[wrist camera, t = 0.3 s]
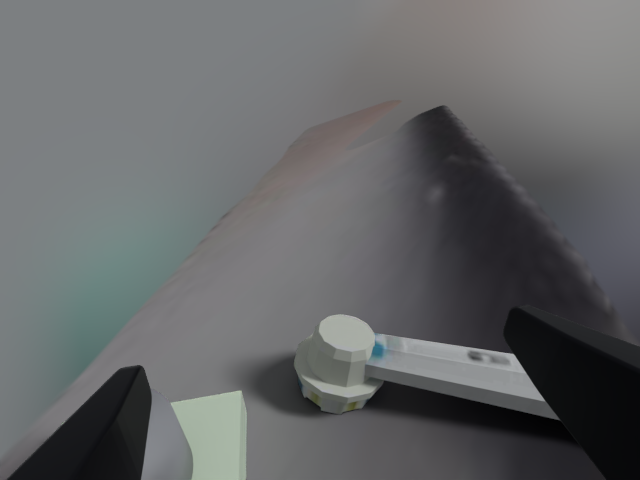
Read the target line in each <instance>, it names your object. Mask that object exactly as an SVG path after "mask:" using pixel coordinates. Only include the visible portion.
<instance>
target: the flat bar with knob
mask: <svg viewBox="0 0 640 480" xmlns="http://www.w3.org/2000/svg"><path fill="white" fill-rule="evenodd" d="M294 367H295V370H296V372H297V374H298V376H299V378H298V384H299V387H300V389H301V391H302V393H303V396H304V398H306V397H308V398H309V399H310V400H312V401H313V402H314V403H316V404H317V405H318V406H320V407H321V410H322V411H326V412H330V413H335V414H339V415H342V412H345V411H350V410H354V409H359V408H360V409H361V408H362V407H363V406H364V405H365V404H366V403H367V402H368V400H369V399H370V398H371V397H372V395H373V394H374V393H375V392H376V391H377V390H378V389H379V388H380V387H381V386H382V385H383V382H384V380H386V381H390V382H395V383H399V384H403V385H408V386H412V387H416V388H421V389H425V390H430V391H434V392H438V393H443V394H447V395H451V396H456V397H460V398H465V399H469V400H473V401H478V402H482V403H486V404H491V405H495V406H500V407H504V408H508V409H513V410H517V411H521V412H526V413H530V414H535V415H539V416H543V417H548V418H552V419H556V420H560V419H559V418H558V417H557V415H556V414H555V413H554V412H553V410H552V409H551V408H550V406H549V405H548V404H547V403H546V401H545V400H544V399H543V397H542V396H541V394H540V393H539V392H538V390H537V389H536V387H535V386H534V384H533V383H532V381H531V380H530V378H529V377H528V375H527V374H526V372H525V371H524V369H523V367H522V366H521V364H520V363H519V361H518V360H517V358H516V357H515V355H514V354H509V353H502V352H495V351H489V350H482V349H476V348H469V347H462V346H456V345H449V344H443V343H436V342H429V341H423V340H416V339H410V338H403V337H396V336H390V335H383V334H377V333H374V332H373V331H372V330H371V328H370V327H369V326H368V324H367V323H365V322H363V321H361V320H360V319H358V318H356V317H353V316H348V315H343V314H341V315H333V316H329V317H327V318H326V319H324V320H323V321H321V322H320V323H319V324H318V325H317V326H316V327H315V330H314V333H313V334H312V335H311V336H309V337H308V338H307V339H305V340H304V341H302V342H301V343H300V344H299V345H298V349H297V353H296V356H295V360H294Z"/></svg>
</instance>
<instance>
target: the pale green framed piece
mask: <svg viewBox="0 0 640 480" xmlns="http://www.w3.org/2000/svg"><path fill="white" fill-rule="evenodd" d="M151 394H152V405H151V413H150V420H149V427H148V435H147V442H146V449H145V457H144V464H143V471H142V477H141V480H246V428H247V411H246V407H245V403H244V399H243V396H242V392H241V390H240V391H235V392H229V393H223V394H218V395H212V396H207V397H201V398H196V399H190V400H184V401H179V402H173V403H170V402H169V400H168V399H167V398H166V397H165V396H164V395H163V394H162V393H160V392H158V391H156V390H154V389H151ZM70 417H71V416H70ZM70 417H69V418H70ZM69 418H68V419H69ZM68 419H67V420H68ZM67 420H66V421H67ZM66 421H65V422H66ZM65 422H62V424H61V426H62V425H63V424H64V423H65Z"/></svg>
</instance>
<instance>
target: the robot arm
mask: <svg viewBox="0 0 640 480" xmlns="http://www.w3.org/2000/svg"><path fill="white" fill-rule="evenodd" d="M503 337H504V339H505V341H506V343H507V344H508V346H509V348H510V349H511V351H512V352H513V354H514V355H515V357H516V358H517V360H518V361H519V363H520V364H521V366H522V367H523V369H524V371H525V372H526V374H527V375H528V377H529V378H530V380H531V381H532V383H533V384H534V386H535V387H536V389H537V390H538V392H539V393H540V394H541V396H542V397H543V399H544V400H545V401H546V403H547V404H548V405H549V406H550V408H551V409H552V410H553V412H554V413H555V414H556V415H557V417H558V418H559V419H560V421H561V422H562V423H563V424H564V426H565V427H566V428H567V430H568V431H569V432H570V433H571V435H572V436H573V437H574V439H575V440H576V441H577V442H578V444H579V445H580V446H581V448H582V449H583V450H584V452H585V453H586V454H587V455H588V457H589V458H590V459H591V461H592V462H593V463H594V464H595V466H596V467H597V468H598V470H599V471H600V472H601V473H602V475H603V476H604V477H605V479H606V480H640V347H639V346H637V345H634V344H631V343H629V342H626V341H623V340H621V339H618V338H615V337H612V336H610V335H607V334H604V333H602V332H599V331H596V330H594V329H591V328H588V327H585V326H583V325H580V324H577V323H575V322H572V321H569V320H567V319H564V318H561V317H558V316H556V315H553V314H550V313H548V312H545V311H542V310H540V309H537V308H534V307H531V306H528V305H522V306H516V307H512V308H511V309H510V310H509V313H508V316H507V319H506V323H505V326H504V329H503ZM151 405H152V394H151V389H150V386H149V383H148V380H147V376H146V373H145V370H144V368H143V367H142V366H140V365H136V366H130V367H124V368H121V369H119V370H118V371H116V372H115V373H114V374H113V375H112V376H111V377H110V378H109V379H108V380H107V381H106V382H105V383H104V384H103V385H102V386H101V387H100V388H99V389H98V390H97V391H96V392H95V393H94V394H93V395H92V396H91V397H90V398H89V399H88V400H87V401H86V402H85V403H84V404H83V405H82V406H81V407H80V408H79V409H78V410H77V411H76V412H75V413H74V414H73V415H72V416H71V417H70V418H69V419H68V420H67V421H66V422H65V423H64V424H63V425H62V426H60V427H59V428H58V429H57V430H56V431H55V432H54V433H53V434H52V435H51V436H50V437H49V438H48V439H47V440H46V441H45V442H44V443H43V444H42V445H41V446H40V447H39V448H38V449H37V450H36V451H35V452H34V453H33V454H32V455H31V456H30V457H29V458H28V459H27V460H26V461H25V462H24V463H23V464H22V465H21V466H20V467H19V468H18V469H17V470H16V471H15V472H14V473H13V474H12V475H11V476H10V477H9V478H8V479H7V480H141V477H142V471H143V464H144V457H145V449H146V442H147V435H148V427H149V420H150V413H151Z"/></svg>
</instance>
